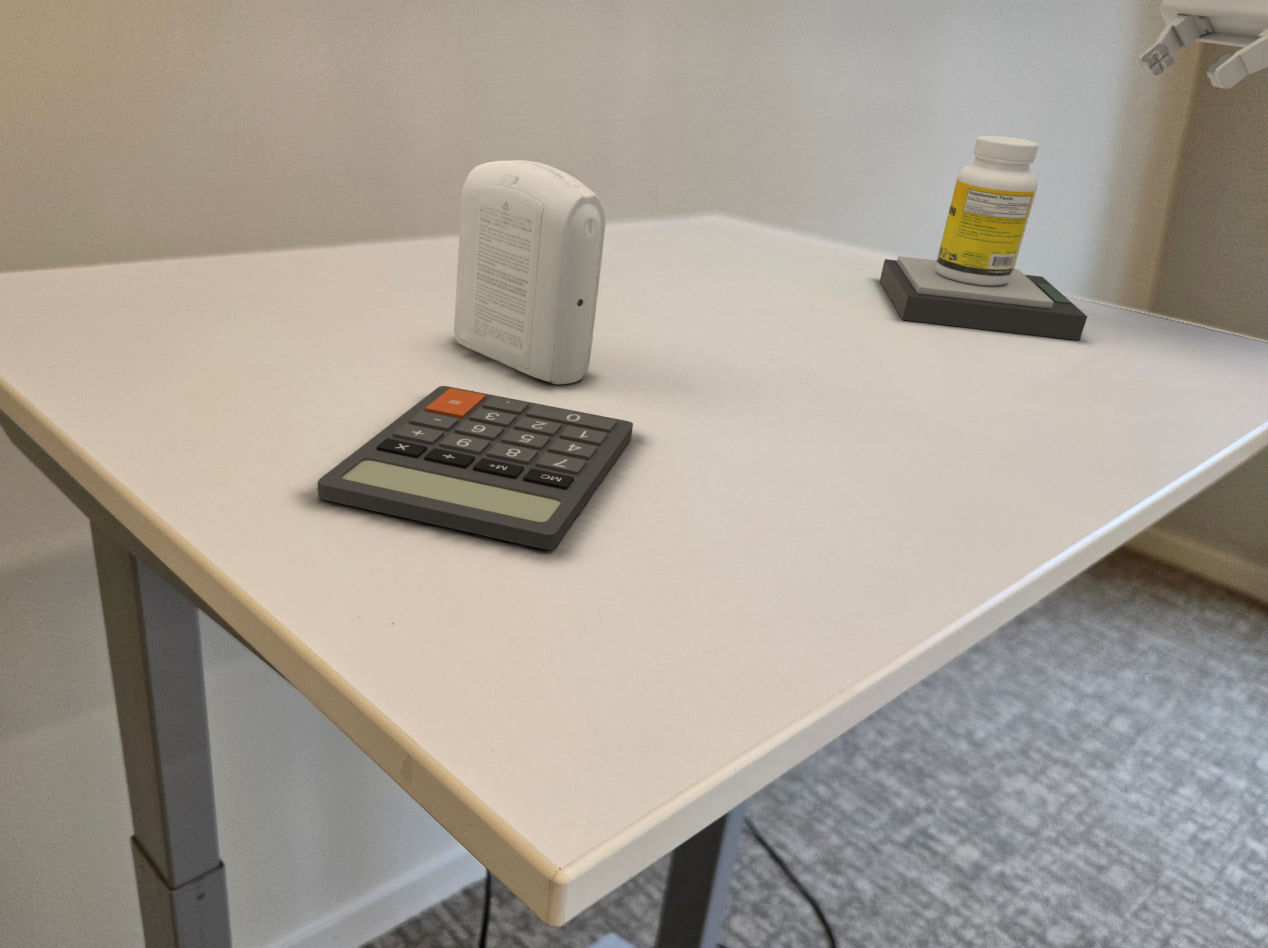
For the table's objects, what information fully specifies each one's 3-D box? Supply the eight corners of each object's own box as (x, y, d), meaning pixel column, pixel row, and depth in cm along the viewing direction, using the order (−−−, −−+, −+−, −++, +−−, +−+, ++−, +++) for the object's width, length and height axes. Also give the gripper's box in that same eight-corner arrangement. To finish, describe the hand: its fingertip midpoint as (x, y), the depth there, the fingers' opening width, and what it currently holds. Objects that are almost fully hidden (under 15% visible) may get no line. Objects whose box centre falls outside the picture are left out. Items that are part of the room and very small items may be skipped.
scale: (1036, 298, 97) (1044, 269, 96) (1079, 340, 86) (1090, 308, 85) (879, 280, 98) (886, 252, 97) (902, 320, 87) (909, 288, 86)
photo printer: (599, 378, 69) (621, 176, 63) (552, 391, 66) (570, 181, 60) (491, 334, 75) (502, 147, 69) (444, 344, 72) (451, 150, 66)
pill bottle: (945, 264, 95) (980, 131, 89) (1017, 279, 92) (1057, 143, 86) (923, 275, 90) (958, 136, 85) (998, 291, 87) (1039, 148, 82)
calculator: (635, 419, 60) (553, 532, 47) (633, 434, 60) (552, 551, 47) (441, 381, 62) (314, 479, 50) (440, 396, 63) (314, 497, 50)
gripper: (1243, -92, 88) (1092, 31, 92) (1440, -101, 70) (1243, 52, 74) (1273, -26, 91) (1125, 91, 94) (1470, -19, 73) (1278, 125, 77)
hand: (1178, 74), depth 84 cm, fingers open, 8 cm apart
